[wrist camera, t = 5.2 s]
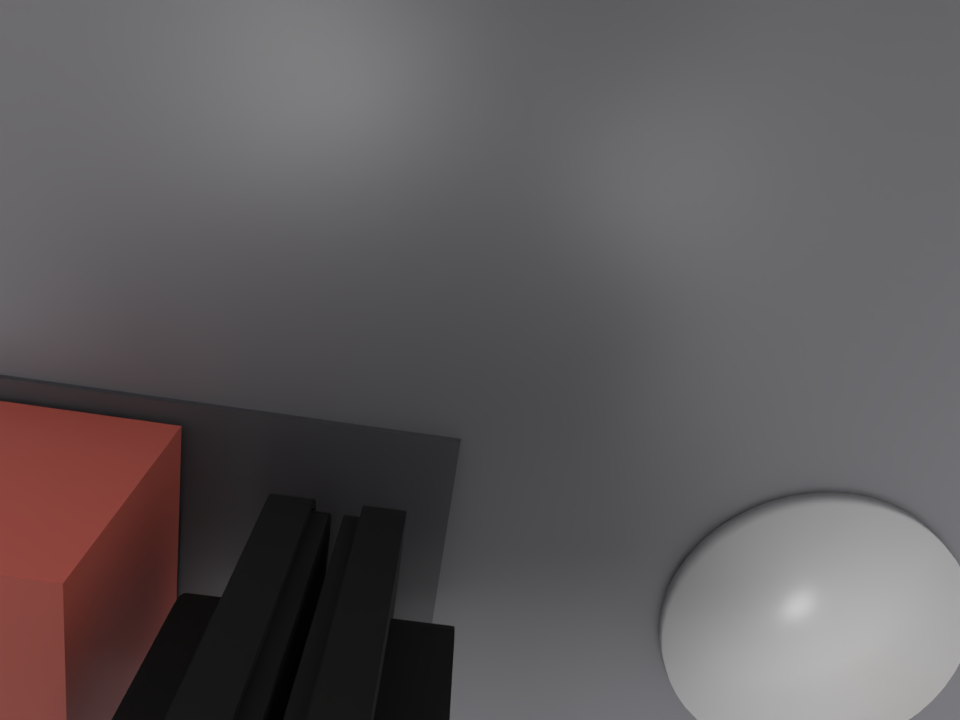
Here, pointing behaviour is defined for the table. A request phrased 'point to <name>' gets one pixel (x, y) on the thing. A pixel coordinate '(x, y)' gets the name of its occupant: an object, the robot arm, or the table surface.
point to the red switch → (82, 556)
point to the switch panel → (529, 319)
